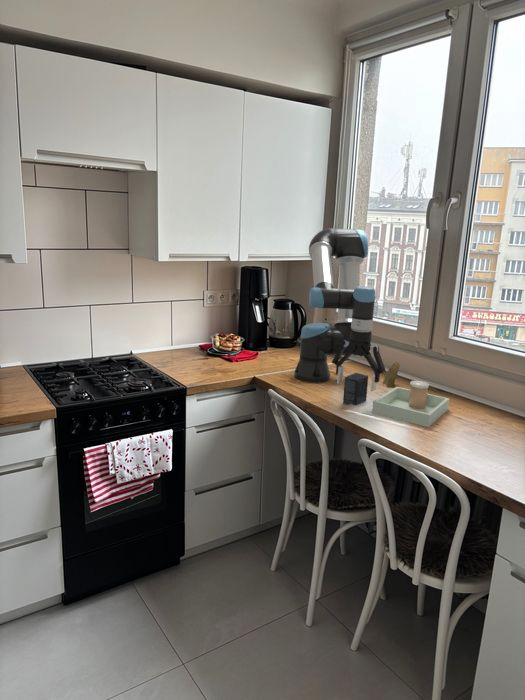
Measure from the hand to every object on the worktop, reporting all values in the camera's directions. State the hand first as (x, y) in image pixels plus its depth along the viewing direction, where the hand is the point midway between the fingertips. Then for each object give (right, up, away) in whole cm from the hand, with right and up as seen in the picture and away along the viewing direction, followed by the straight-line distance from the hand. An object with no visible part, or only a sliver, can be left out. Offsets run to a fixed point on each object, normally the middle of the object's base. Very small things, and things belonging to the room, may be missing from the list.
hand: (356, 386), depth 196 cm
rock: (+18, -1, +26) cm, 31 cm away
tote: (+18, -9, -6) cm, 21 cm away
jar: (+22, -7, -1) cm, 23 cm away
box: (0, -6, +2) cm, 7 cm away
